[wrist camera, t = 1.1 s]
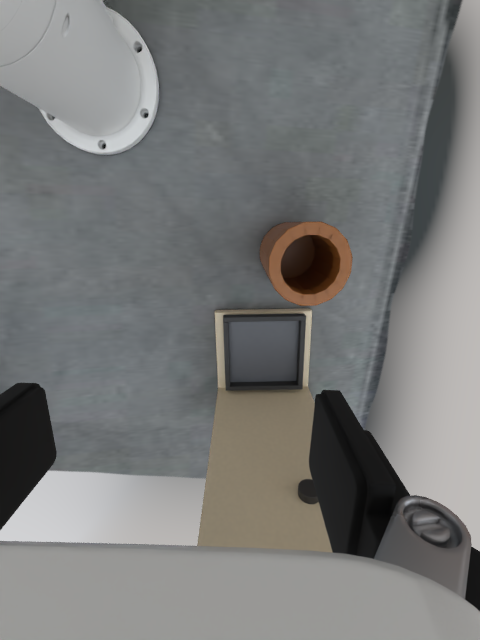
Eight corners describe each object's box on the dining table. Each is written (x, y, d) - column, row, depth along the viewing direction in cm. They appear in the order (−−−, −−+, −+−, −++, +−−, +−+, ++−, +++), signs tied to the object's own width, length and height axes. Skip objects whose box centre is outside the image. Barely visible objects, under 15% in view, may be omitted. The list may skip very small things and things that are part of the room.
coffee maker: (214, 309, 38) (175, 443, 15) (310, 308, 38) (420, 439, 15) (219, 418, 43) (196, 645, 20) (304, 417, 43) (380, 643, 20)
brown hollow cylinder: (259, 222, 35) (269, 222, 24) (318, 221, 35) (356, 220, 24) (259, 280, 37) (268, 306, 26) (314, 279, 37) (348, 304, 26)
